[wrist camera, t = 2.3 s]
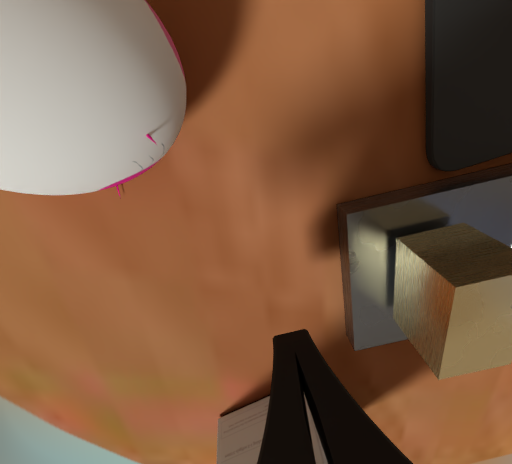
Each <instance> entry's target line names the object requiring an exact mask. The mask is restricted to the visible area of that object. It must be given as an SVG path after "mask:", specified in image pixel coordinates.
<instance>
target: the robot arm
mask: <svg viewBox="0 0 512 464" xmlns="http://www.w3.org/2000/svg"><path fill="white" fill-rule="evenodd" d="M273 351H274V354H273V374H272V383H271V392H270V399H269V406H268V412H267V418H266V424H265V429H264V434H263V439H262V444H261V448H260V453H259V457H258V461H257V464H316V461H315V456H314V450H313V444H312V438H311V432H310V426H309V420H308V414H307V409H306V403H305V397H306V400H307V403H308V406H309V409H310V412H311V415H312V418H313V421H314V424H315V427H316V430H317V433H318V436H319V439H320V442H321V445H322V448H323V450H324V453H325V456H326V460H327V463H328V464H413V463H412V462H411V461H410V460H409V459H408V458H407V457H406V456H405V455H404V454H403V453H402V452H401V451H400V450H399V449H398V448H397V447H396V446H395V445H394V444H393V443H392V442H391V441H390V440H389V438H388V437H387V436H386V435H385V434H384V433H383V432H382V431H381V430H380V429H379V428H378V427H377V425H376V424H375V423H374V422H373V421H372V420H371V419H370V418H369V416H368V415H367V414H366V413H365V412H364V411H363V409H362V408H361V407H360V406H359V405H358V404H357V402H356V401H355V400H354V399H353V397H352V396H351V395H350V394H349V392H348V391H347V390H346V389H345V387H344V386H343V385H342V383H341V382H340V381H339V379H338V378H337V377H336V375H335V374H334V373H333V371H332V370H331V368H330V367H329V366H328V364H327V363H326V361H325V360H324V358H323V357H322V355H321V354H320V352H319V351H318V349H317V347H316V346H315V344H314V342H313V340H312V338H311V337H310V335H309V332H308V330H306V329H303V330H298V331H294V332H290V333H285V334H281V335H277V336H274V338H273ZM304 394H305V397H304Z"/></svg>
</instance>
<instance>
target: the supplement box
mask: <svg viewBox="0 0 512 464" xmlns="http://www.w3.org/2000/svg"><path fill="white" fill-rule="evenodd" d="M304 397H305V394H304ZM269 399H270V396H268V397H266V398H264V399H261V400H259V401H257V402H255V403H252V404H250V405H248V406H246V407H243V408H241V409H239V410H237V411H234V412H232V413H230V414H228V415H225V416H223V417H221V418H219V419H218V438H217V464H257V461H258V457H259V453H260V448H261V444H262V439H263V434H264V429H265V424H266V418H267V412H268V406H269ZM305 403H306V409H307V414H308V420H309V426H310V432H311V438H312V444H313V450H314V456H315V461H316V464H328V463H327V460H326V456H325V453H324V450H323V448H322V445H321V442H320V439H319V436H318V433H317V430H316V427H315V424H314V421H313V418H312V415H311V412H310V409H309V406H308V403H307V400H306V397H305Z"/></svg>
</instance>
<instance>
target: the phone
mask: <svg viewBox="0 0 512 464" xmlns="http://www.w3.org/2000/svg"><path fill="white" fill-rule="evenodd" d="M425 60H426V154H427V158H428V161H429V163H430V164H431V165H432V166H433V167H435V168H437V169H440V170H443V171H455V170H459V169H462V168H465V167H469V166H472V165H475V164H478V163H481V162H484V161H487V160H491V159H494V158H497V157H500V156H503V155H506V154H509V153H512V0H425Z"/></svg>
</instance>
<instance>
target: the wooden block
mask: <svg viewBox="0 0 512 464" xmlns="http://www.w3.org/2000/svg"><path fill="white" fill-rule="evenodd" d="M393 319H394V320H395V322H396V323H397V324H398V326H399V327H400V328H401V330H402V331H403V333H404V334H405V335H406V337H407V338H408V339H409V341H410V342H411V343H412V345H413V346H414V347H415V349H416V350H417V351H418V353H419V354H420V355H421V357H422V358H423V360H424V361H425V362H426V364H427V365H428V366H429V368H430V369H431V370H432V372H433V373H434V374H435V376H436V377H437V378H438V380H440V379H445V378H449V377H454V376H458V375H463V374H467V373H472V372H476V371H481V370H486V369H490V368H495V367H499V366H504V365H508V364H511V361H512V248H511V247H509V246H507V245H505V244H503V243H502V242H500V241H498V240H496V239H494V238H492V237H490V236H488V235H486V234H485V233H483V232H481V231H479V230H477V229H475V228H473V227H471V226H469V225H468V224H466V223H460V224H455V225H451V226H447V227H442V228H438V229H434V230H429V231H425V232H421V233H416V234H412V235H408V236H403V237H399V238H397V239H396V262H395V285H394V308H393Z"/></svg>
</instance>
